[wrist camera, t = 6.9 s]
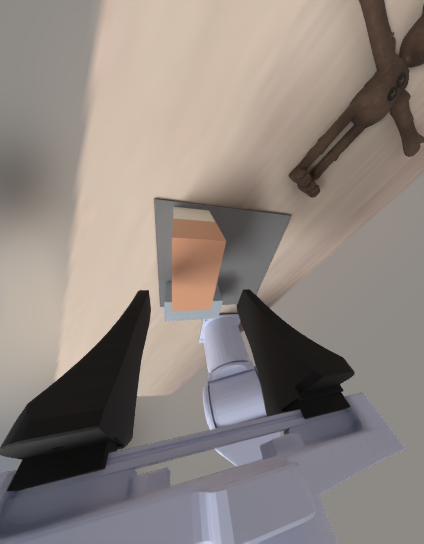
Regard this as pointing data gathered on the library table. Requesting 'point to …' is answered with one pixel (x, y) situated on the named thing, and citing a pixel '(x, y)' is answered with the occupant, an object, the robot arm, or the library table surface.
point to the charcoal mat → (226, 245)
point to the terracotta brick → (195, 263)
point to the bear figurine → (373, 96)
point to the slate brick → (191, 315)
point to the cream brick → (192, 214)
